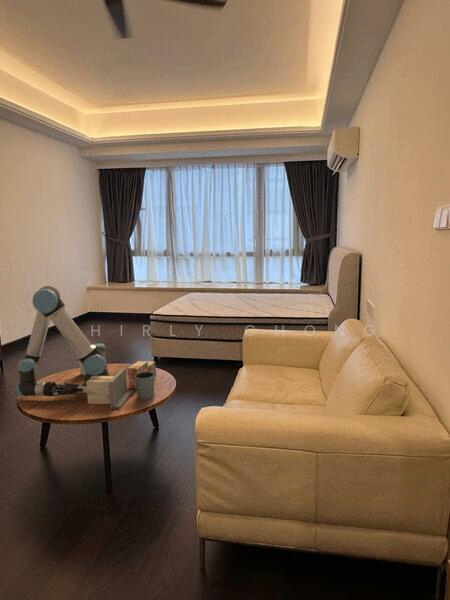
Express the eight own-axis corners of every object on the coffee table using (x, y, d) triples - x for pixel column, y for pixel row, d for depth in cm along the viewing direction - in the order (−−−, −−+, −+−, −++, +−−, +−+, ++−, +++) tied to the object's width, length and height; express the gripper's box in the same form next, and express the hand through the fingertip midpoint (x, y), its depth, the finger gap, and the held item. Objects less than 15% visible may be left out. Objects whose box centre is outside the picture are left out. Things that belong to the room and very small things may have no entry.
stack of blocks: (147, 375, 238) (146, 356, 236) (156, 376, 237) (155, 356, 235) (128, 388, 218) (127, 367, 216) (138, 389, 216) (137, 368, 214)
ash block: (94, 397, 207) (92, 375, 205) (119, 397, 206) (118, 376, 204) (88, 403, 199) (86, 381, 197) (114, 403, 198) (113, 381, 196)
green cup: (158, 393, 210) (157, 372, 208) (150, 400, 200) (149, 378, 199) (141, 391, 213) (140, 370, 211) (132, 399, 203) (131, 377, 201)
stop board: (123, 392, 212) (122, 368, 209) (132, 392, 211) (131, 368, 209) (110, 408, 192) (108, 382, 190) (120, 409, 191) (118, 382, 189)
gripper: (53, 390, 211) (95, 391, 209) (40, 400, 198) (85, 401, 196) (52, 377, 209) (94, 377, 208) (38, 386, 197) (83, 387, 195)
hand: (89, 389), depth 202 cm, fingers closed
